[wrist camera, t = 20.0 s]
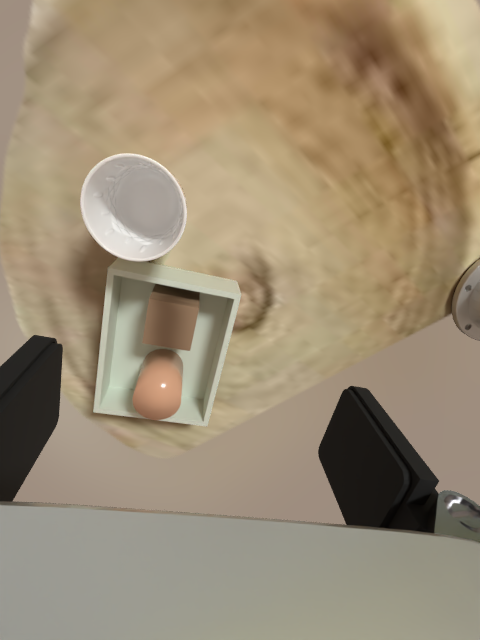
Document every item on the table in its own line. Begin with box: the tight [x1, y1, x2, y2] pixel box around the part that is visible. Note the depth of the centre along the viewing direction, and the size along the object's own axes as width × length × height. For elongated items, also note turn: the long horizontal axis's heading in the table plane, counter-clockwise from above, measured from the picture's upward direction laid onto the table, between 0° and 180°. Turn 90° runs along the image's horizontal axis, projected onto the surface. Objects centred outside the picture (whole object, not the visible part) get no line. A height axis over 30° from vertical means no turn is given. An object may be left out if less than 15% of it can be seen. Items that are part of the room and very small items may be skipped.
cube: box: [142, 284, 200, 351], centre depth 37 cm, size 5×5×5 cm
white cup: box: [80, 153, 187, 262], centre depth 30 cm, size 8×8×10 cm
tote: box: [93, 257, 241, 426], centre depth 39 cm, size 13×17×5 cm
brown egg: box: [133, 349, 183, 420], centre depth 39 cm, size 5×5×7 cm
